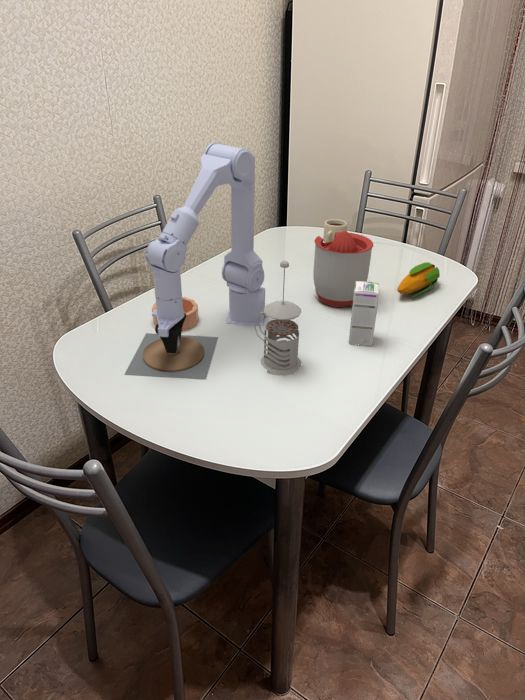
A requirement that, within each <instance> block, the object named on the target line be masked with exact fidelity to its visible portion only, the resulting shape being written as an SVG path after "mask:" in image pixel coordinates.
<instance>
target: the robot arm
mask: <svg viewBox="0 0 525 700" xmlns="http://www.w3.org/2000/svg"><path fill="white" fill-rule="evenodd" d="M200 167H201V168H200V171H199V173H198V175H197V177H196V179H195V181H194V183H193V186H192V187H191V190H190V191H189V193H188V195H187V197H186V200H185V202H184V204H183V206H181V207H178V208H175V209H174V210H173V212H172V213H171V214H170V216H169V219H168V221H167V223H166V224H165V226H164V228H163V229H162V231H161V233H160V234H159V236H158V238H156V239H155V240H153V241H151V242H150V243H149V244H148V246H147V248H146V254H144V260H145V261H146V263H147V264H148V265H149V266H150V272H151V273H152V279H153V287H154V296H155V303H156V308H157V310H154V311H153V312H152V311H151V316H152V318H153V317H157V321H158V324H157V325H156V326H154V331H155V334H158V335H159V337H160V338H161V340H162V342H163V344H164V347H165V349H166V352H167V353H176V351H177V344H178V336H179V342H180V340H181V335H182V333H183V331H182V327H183V323H184V321H185V319H186V314H185V313H184V310H183V301H182V297H183V290H182V279H181V268H183V265H184V264H185V262H186V259H187V258H186V257H187V256H186V255H187V254H186V253H187V251H188V247H187V246H188V244H189V243H190V240H191V239H192V238H193V236H194V233H195V232H196V230H197V228H198V227H199V224H200V222H199V214H200V212H201V211H202V209H203V208H204V206H205V205H206V203H207V202H208V200H210V198H211V196H212V194H213V193H214V192H215V190H217V187H219V186H224V185H228V184H229V185H230V188H231V189H230V191H231V192H230V197H231V198H230V200H231V201H230V202H231V203H230V205H231V207H230V209H231V210H230V211H231V212H230V213H231V214H230V215H231V217H230V219H231V221H230V222H231V228H230V229H231V230H230V231H231V233H230V235H231V242H230V244H231V246H230V247H231V250H230V251H228V253H226V254H225V255H224V257H223V259H224V260H223V261H224V262H223V266H222V269H221V276H222V280H223V281H225V282H226V286H227V288H228V302H229V305H228V308H229V311H228V314H227V319H226V322H225V323H226V324H227V325H245V326H254V320H255V318H256V316H257V315H258V314H259V313H261V312H262V311H263V310H264V308H265V307H266V288H265V287H263V286H262V285H263V284H264V281H265V270H264V268H263V260H262V259H261V258H260V257H259V255H258V253H256V252H255V250H254V249H255V248H254V247H255V246H254V241H255V238H254V236H255V201H256V199H255V193H256V191H255V190H256V156H255V155H254V154H253V152H252V151H251V150H249V149H248V148H245V147H239V146H238V147H237V146H234V145H233V146H232V145H227V144H222V143H221V144H220V143H218V142H211V143H209V144H208V145H207V147H206V148H205V150H204V151H203V154H202V156H201V157H200ZM258 317H259V315H258V316H257V318H256V321H255V326H259V325H258ZM264 319H265V314H264V313H261V315H260V318H259V324H260V326H263V325H264Z"/></svg>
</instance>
